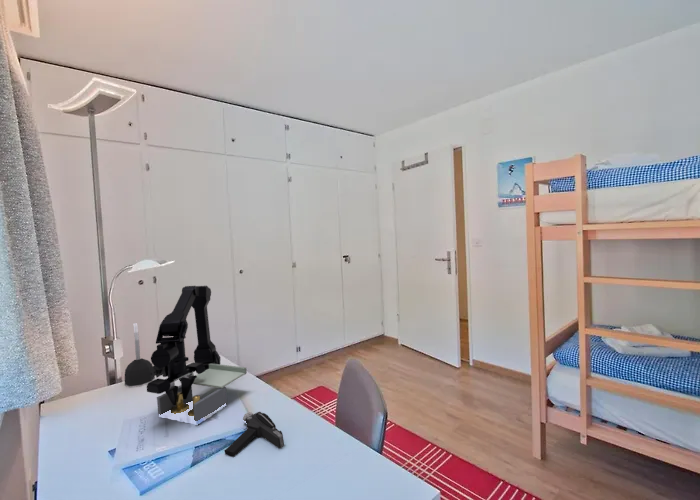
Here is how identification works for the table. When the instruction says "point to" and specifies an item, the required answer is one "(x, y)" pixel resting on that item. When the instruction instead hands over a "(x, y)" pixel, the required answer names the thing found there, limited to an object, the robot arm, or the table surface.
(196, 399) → the brass knob
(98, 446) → the table surface
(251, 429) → the toy gun
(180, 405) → the brass door knob
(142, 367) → the black plunger
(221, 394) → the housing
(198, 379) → the lid
